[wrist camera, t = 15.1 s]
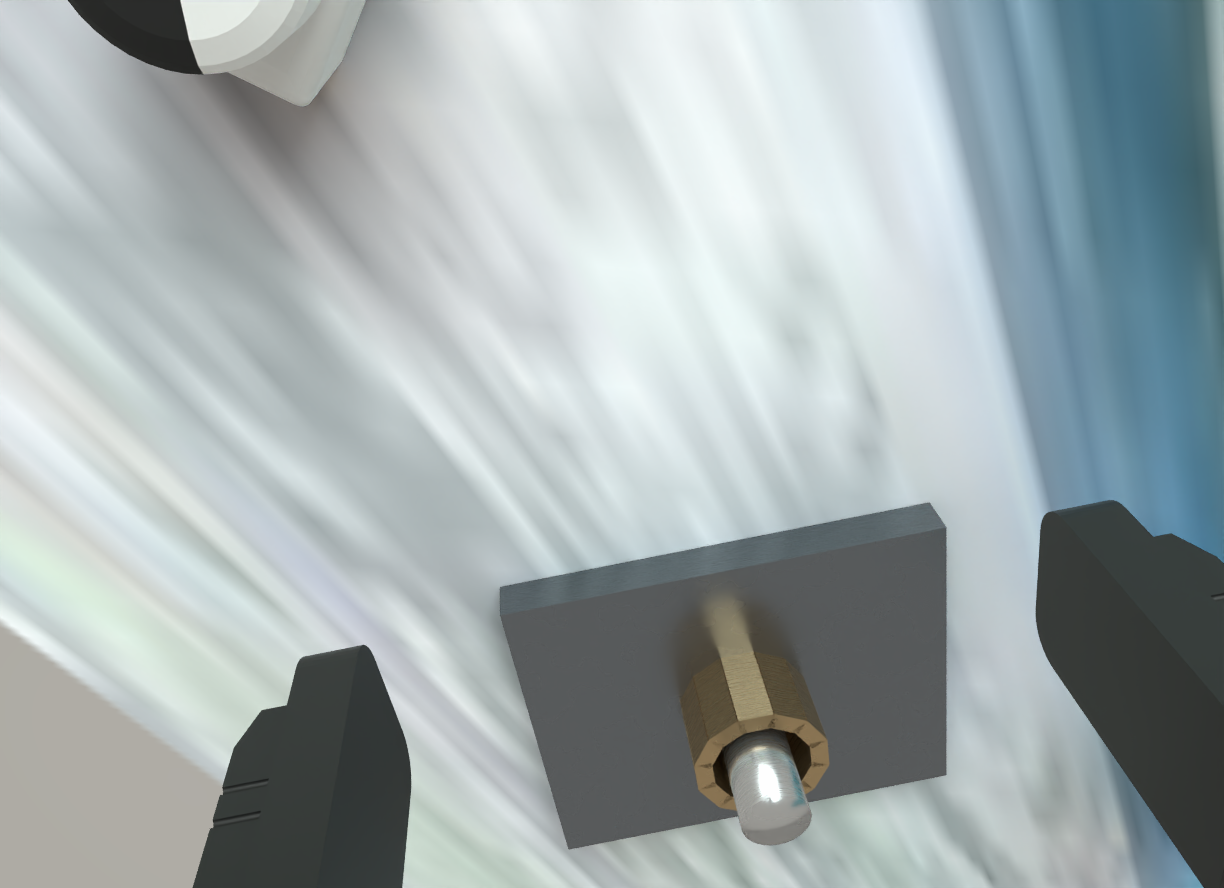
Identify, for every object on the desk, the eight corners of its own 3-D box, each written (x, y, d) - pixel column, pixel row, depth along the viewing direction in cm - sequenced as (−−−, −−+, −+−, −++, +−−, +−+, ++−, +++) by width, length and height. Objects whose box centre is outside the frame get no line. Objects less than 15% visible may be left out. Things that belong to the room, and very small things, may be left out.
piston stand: (929, 502, 46) (1016, 632, 39) (931, 746, 55) (1004, 893, 47) (499, 587, 46) (500, 733, 39) (566, 818, 55) (577, 977, 47)
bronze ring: (800, 642, 47) (824, 703, 44) (809, 732, 50) (832, 797, 47) (673, 667, 47) (687, 731, 44) (690, 756, 50) (704, 822, 47)
